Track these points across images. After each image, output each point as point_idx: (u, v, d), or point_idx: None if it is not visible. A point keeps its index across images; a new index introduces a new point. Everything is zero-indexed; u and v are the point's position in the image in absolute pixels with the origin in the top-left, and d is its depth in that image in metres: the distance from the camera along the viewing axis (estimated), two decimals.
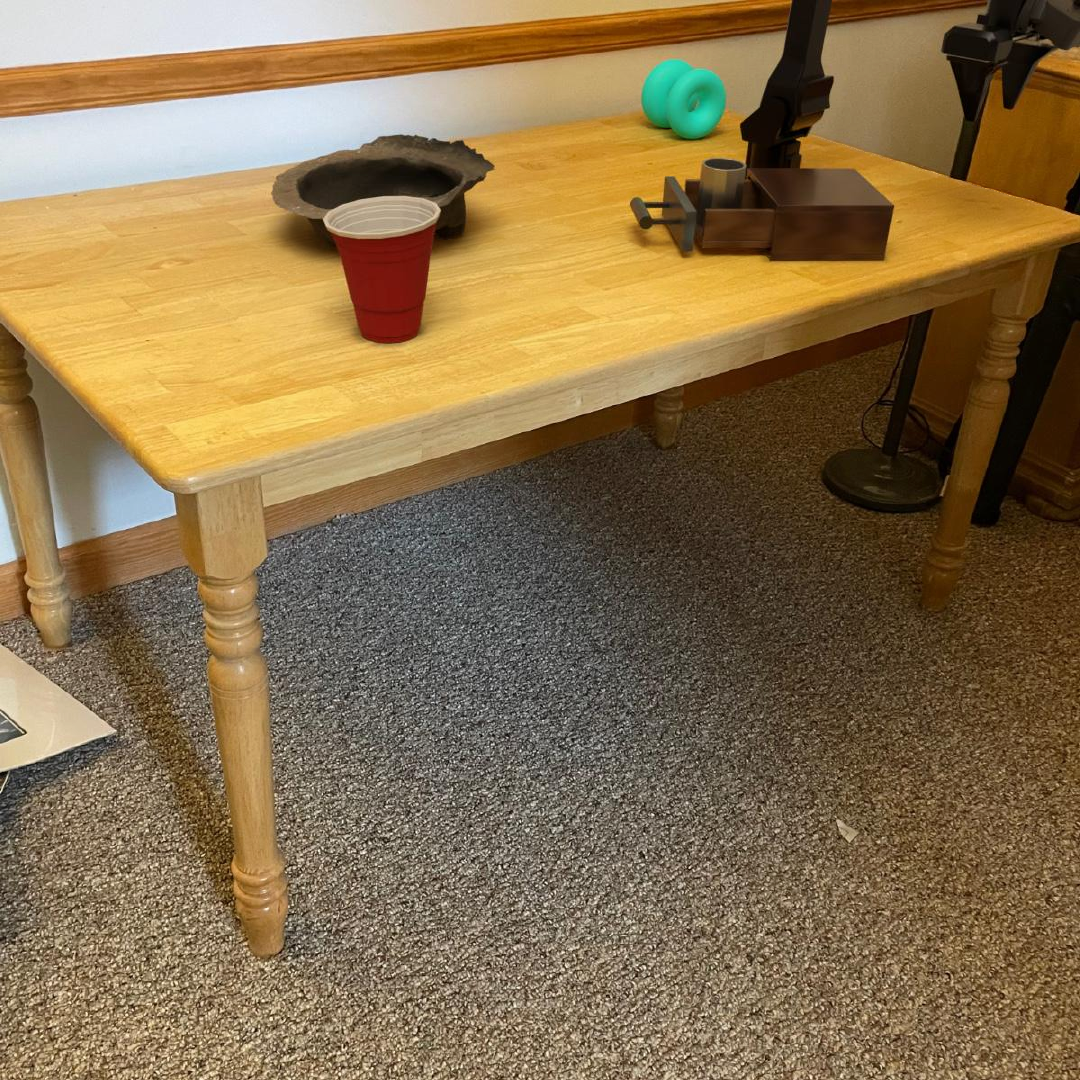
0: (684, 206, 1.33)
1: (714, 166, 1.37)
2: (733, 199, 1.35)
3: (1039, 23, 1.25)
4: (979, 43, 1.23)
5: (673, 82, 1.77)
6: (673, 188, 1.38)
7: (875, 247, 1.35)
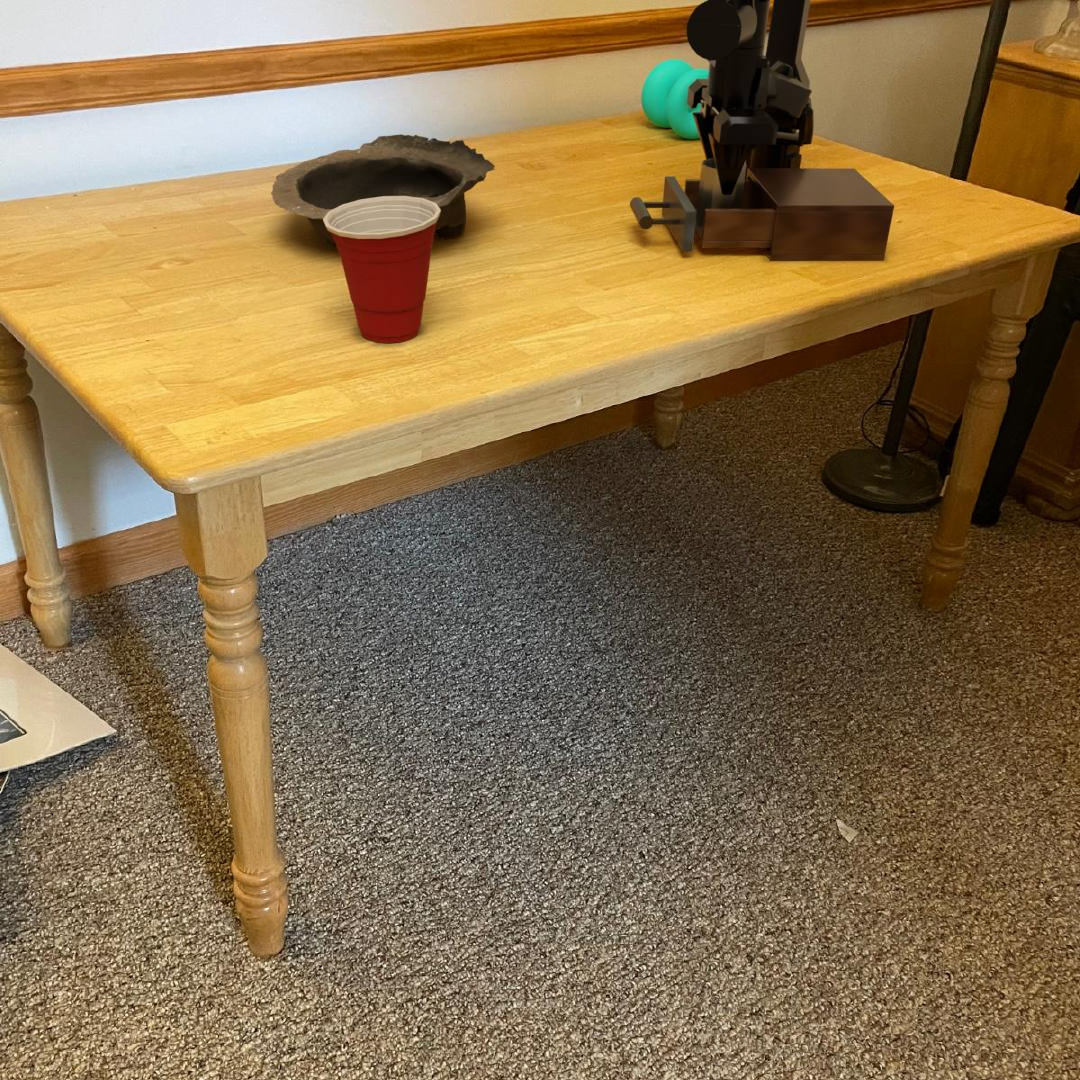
0: (684, 206, 1.33)
1: (714, 166, 1.37)
2: (733, 199, 1.35)
3: (775, 97, 1.29)
4: (762, 129, 1.24)
5: (673, 82, 1.77)
6: (673, 188, 1.38)
7: (875, 247, 1.35)
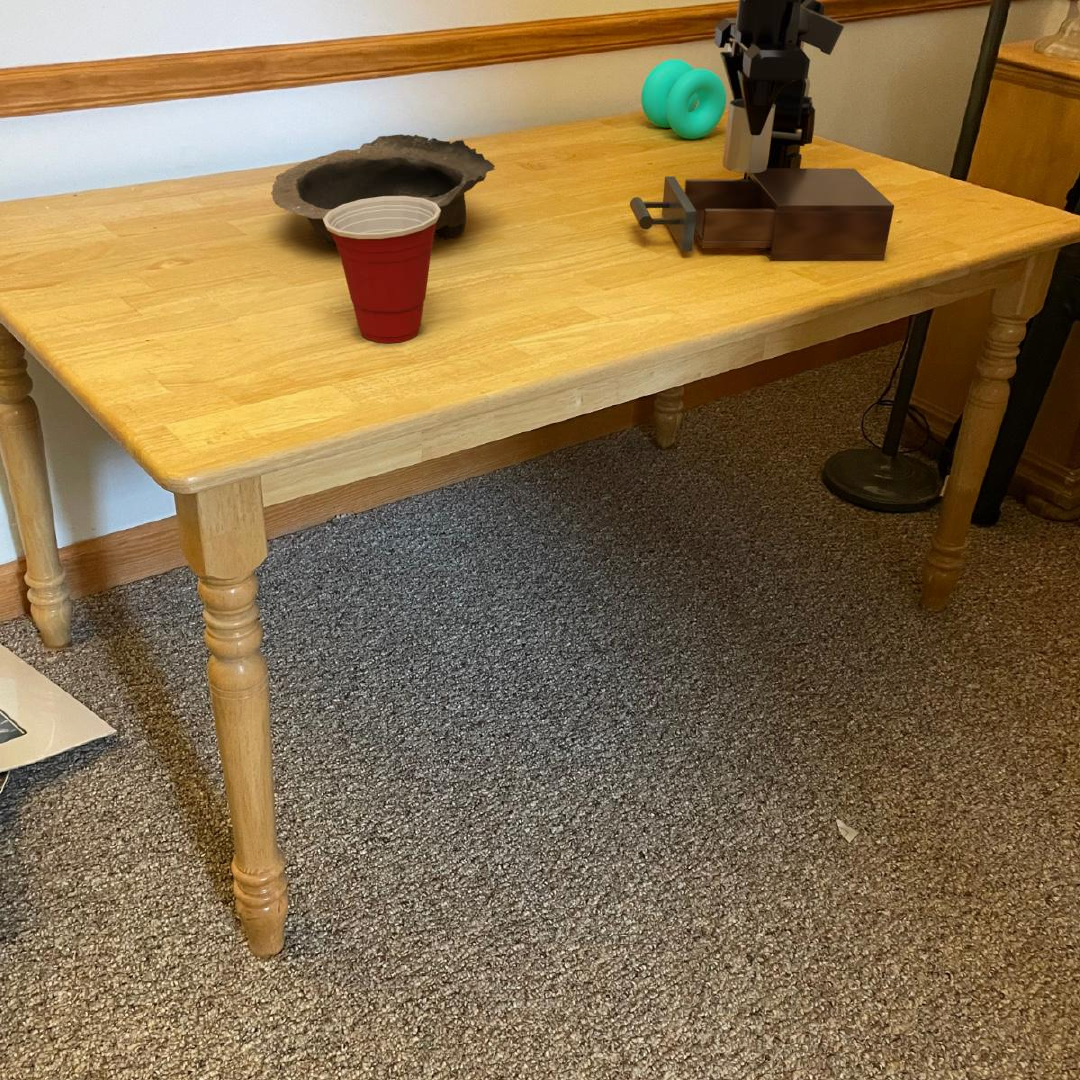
0: (684, 206, 1.33)
1: (742, 107, 1.34)
2: (761, 140, 1.32)
3: (806, 33, 1.26)
4: (794, 63, 1.21)
5: (673, 82, 1.77)
6: (673, 188, 1.38)
7: (875, 247, 1.35)
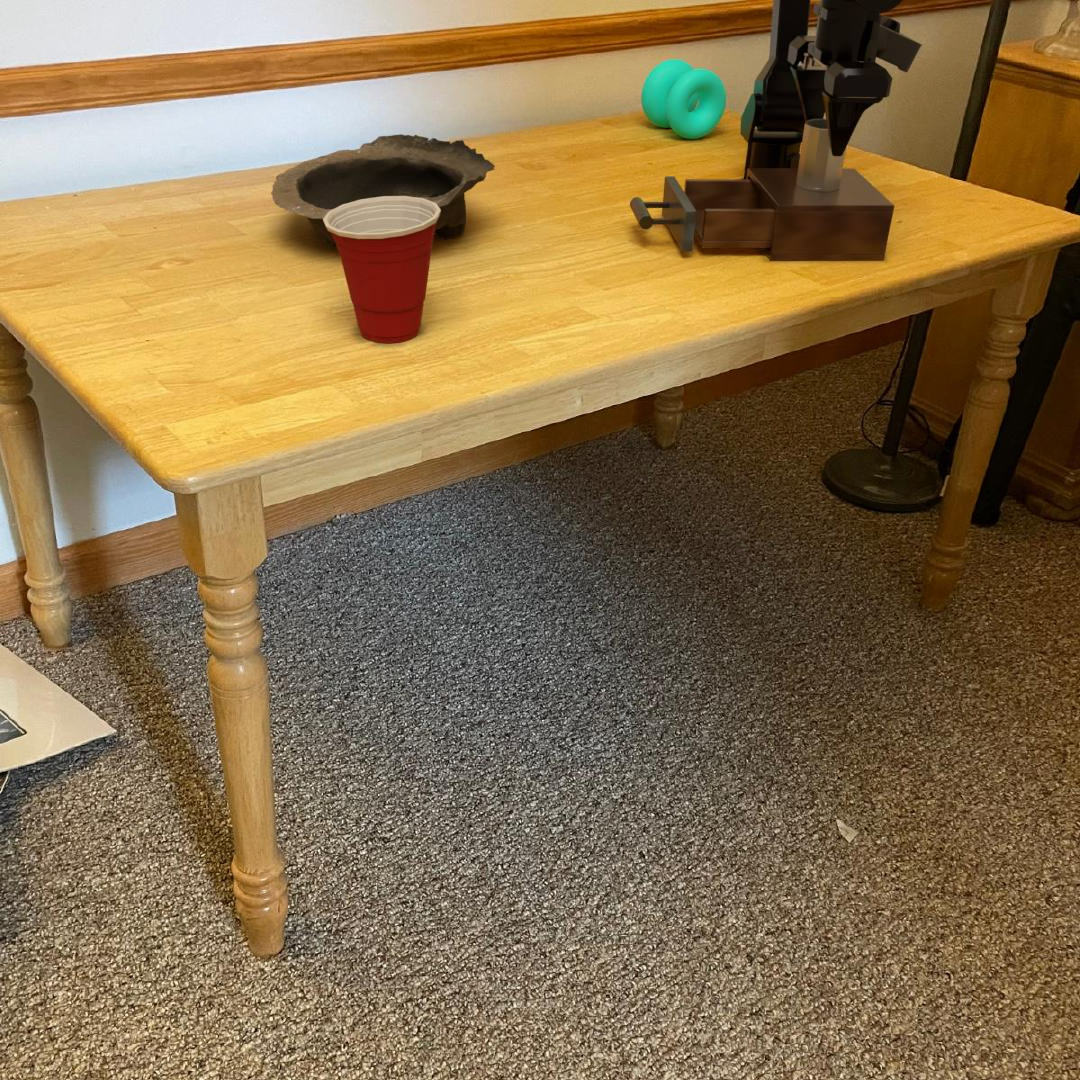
0: (684, 206, 1.33)
1: (816, 127, 1.36)
2: (836, 159, 1.34)
3: (885, 51, 1.28)
4: (877, 82, 1.23)
5: (673, 82, 1.77)
6: (673, 188, 1.38)
7: (875, 247, 1.35)
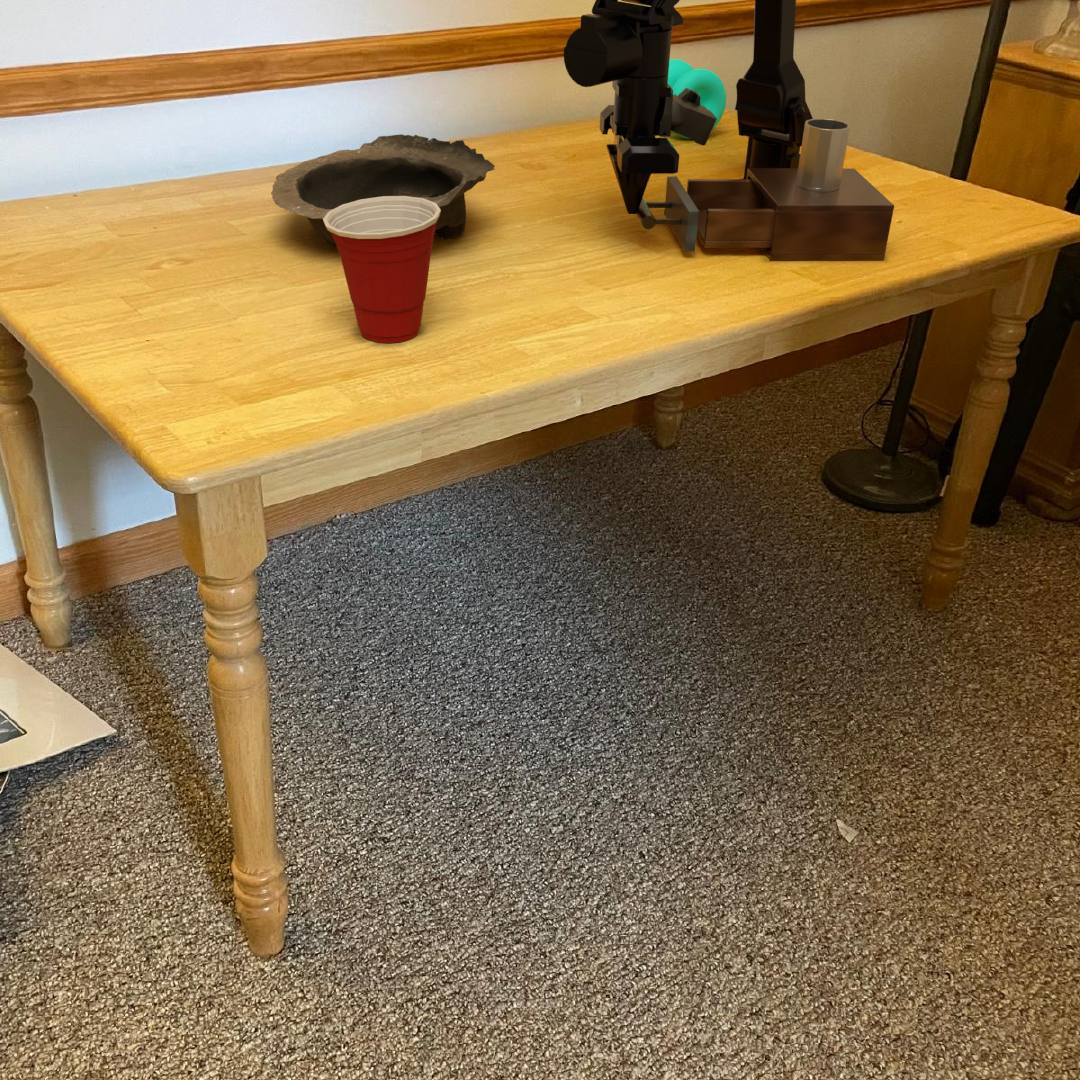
0: (687, 206, 1.33)
1: (816, 127, 1.36)
2: (836, 159, 1.34)
3: (679, 126, 1.30)
4: (663, 159, 1.25)
5: (673, 82, 1.77)
6: (675, 188, 1.38)
7: (875, 247, 1.35)
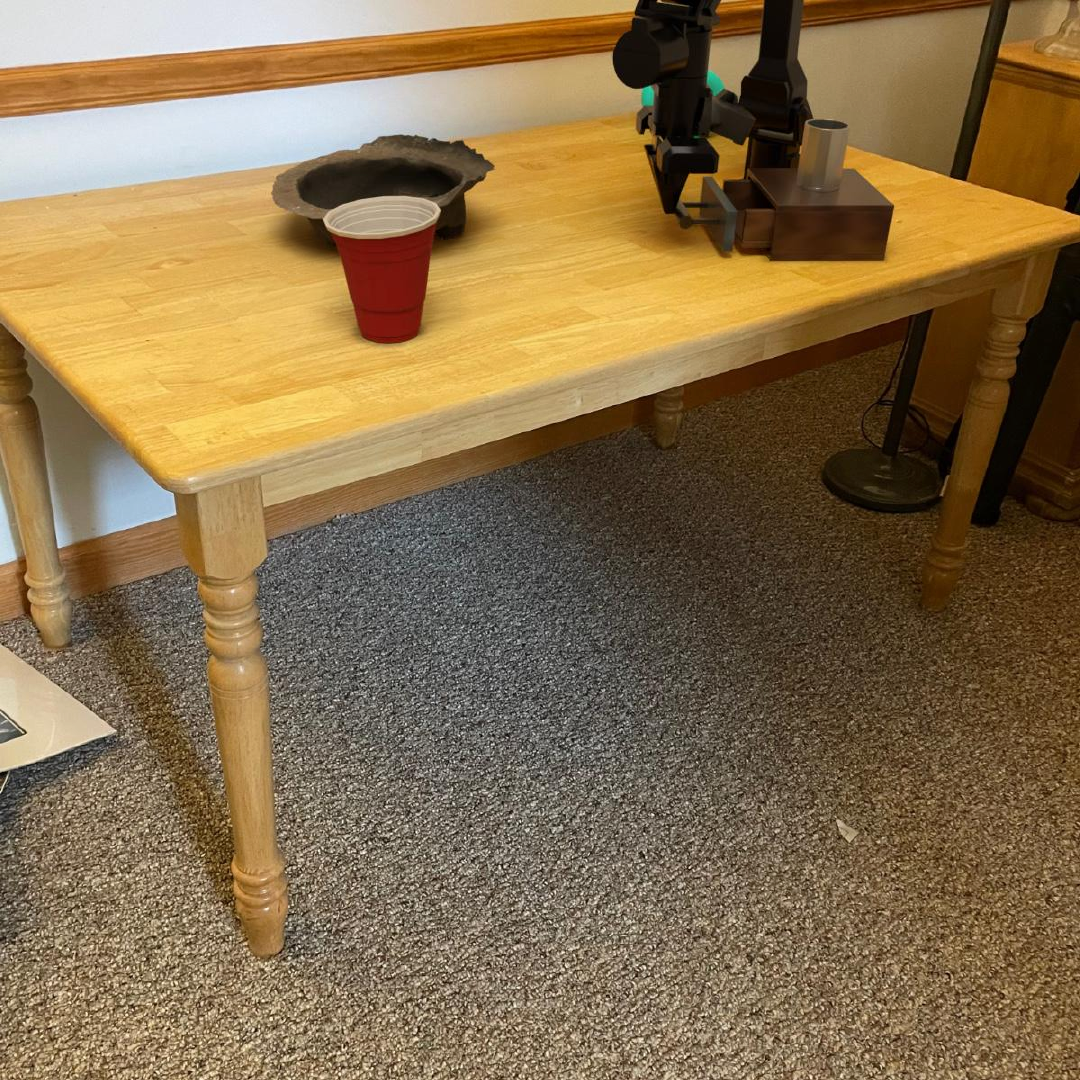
0: (725, 206, 1.33)
1: (816, 127, 1.36)
2: (836, 159, 1.34)
3: (718, 126, 1.30)
4: (703, 159, 1.25)
5: None
6: (712, 188, 1.38)
7: (875, 247, 1.35)
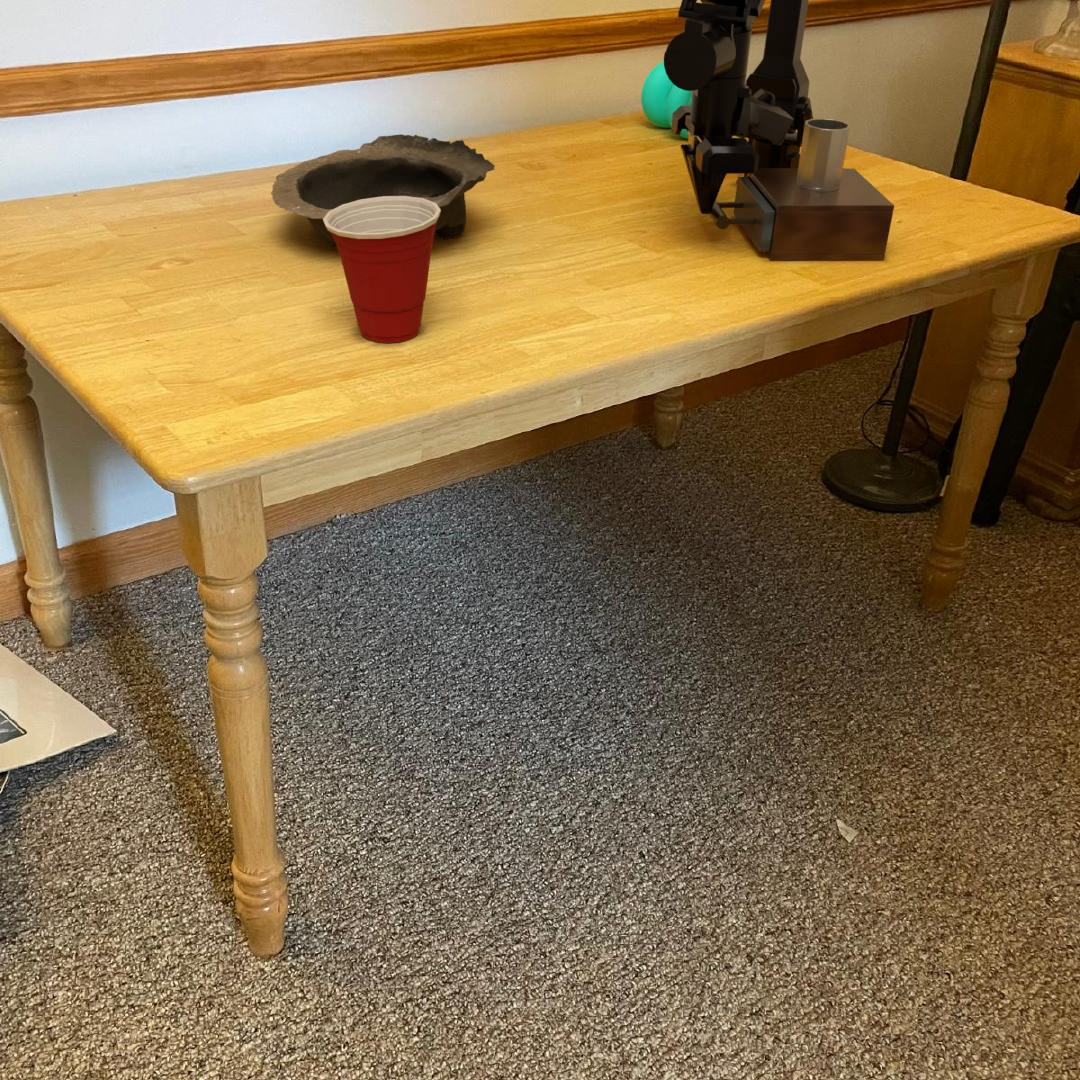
0: (762, 206, 1.33)
1: (816, 127, 1.36)
2: (836, 159, 1.34)
3: (757, 126, 1.31)
4: (743, 159, 1.26)
5: None
6: (748, 188, 1.39)
7: (875, 247, 1.35)
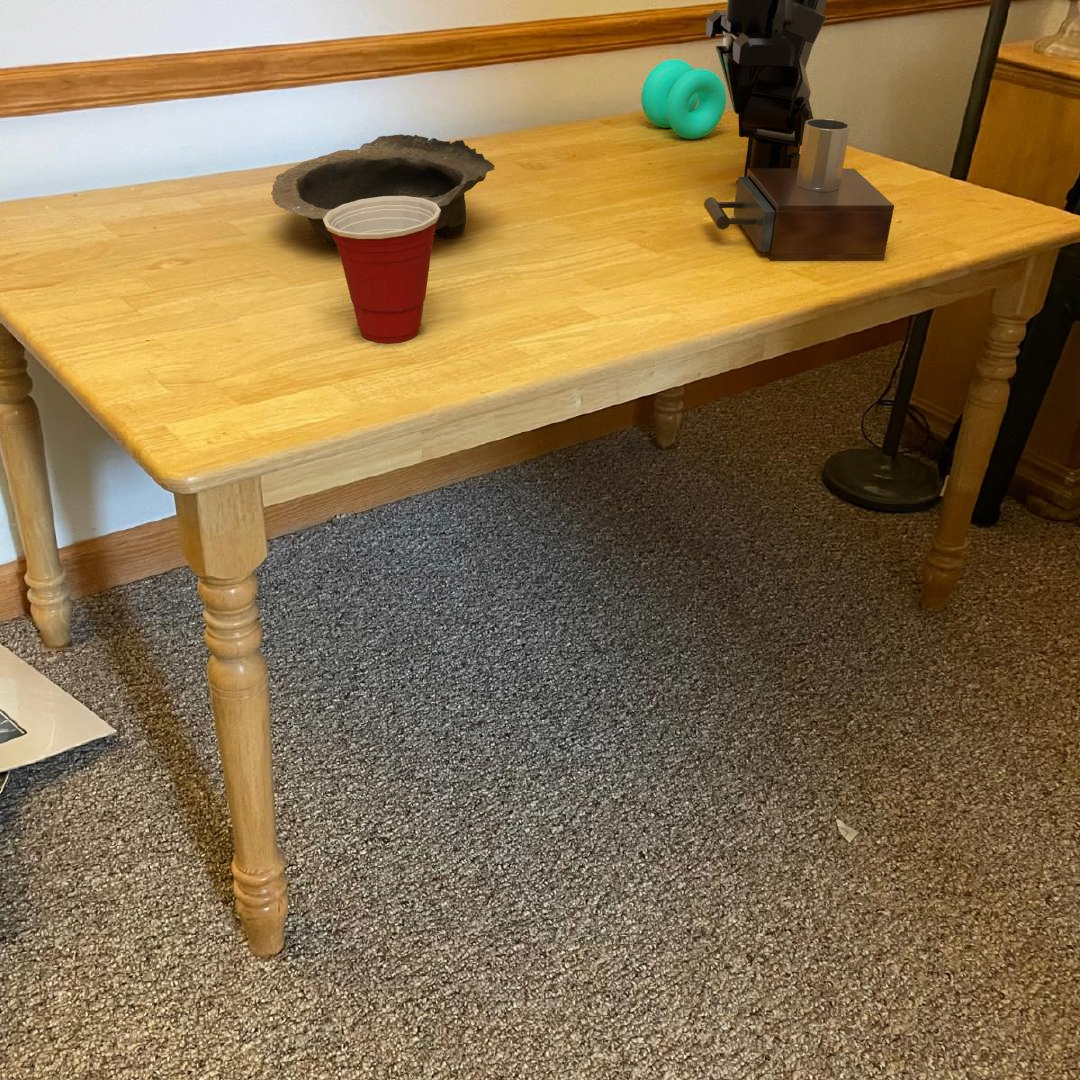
0: (762, 206, 1.33)
1: (816, 127, 1.36)
2: (836, 159, 1.34)
3: (791, 23, 1.35)
4: (780, 51, 1.30)
5: (673, 82, 1.77)
6: (748, 188, 1.39)
7: (875, 247, 1.35)
